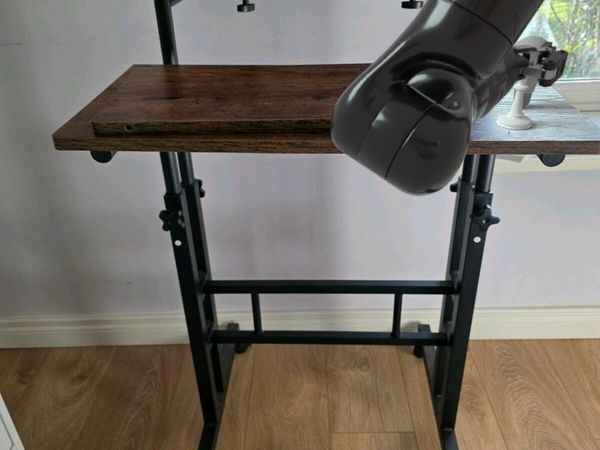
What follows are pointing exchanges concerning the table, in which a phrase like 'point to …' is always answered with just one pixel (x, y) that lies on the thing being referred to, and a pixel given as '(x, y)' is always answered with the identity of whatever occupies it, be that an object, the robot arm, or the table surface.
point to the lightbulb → (532, 81)
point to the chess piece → (516, 111)
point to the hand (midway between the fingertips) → (510, 46)
